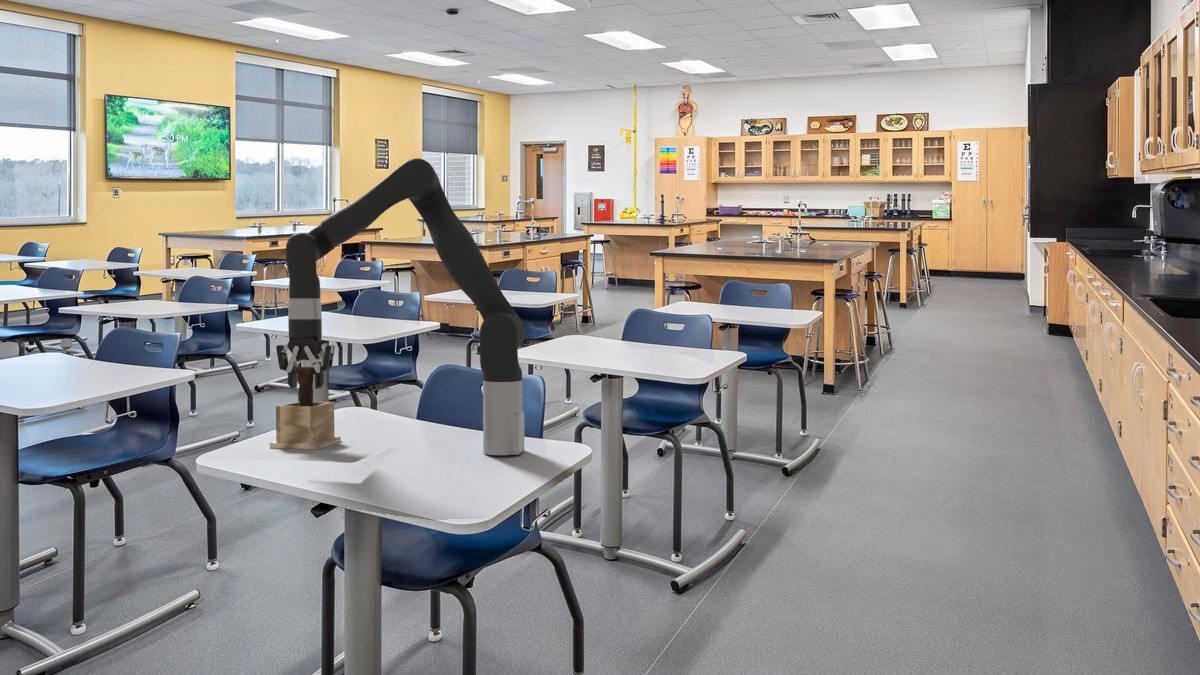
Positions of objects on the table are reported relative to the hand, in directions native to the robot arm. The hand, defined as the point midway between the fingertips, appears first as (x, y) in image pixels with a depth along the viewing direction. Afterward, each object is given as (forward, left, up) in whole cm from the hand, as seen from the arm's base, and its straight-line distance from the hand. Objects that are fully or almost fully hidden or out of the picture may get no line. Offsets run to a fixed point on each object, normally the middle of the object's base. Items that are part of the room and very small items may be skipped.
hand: (305, 388), depth 207 cm
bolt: (0, 0, -10) cm, 10 cm away
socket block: (0, 0, -14) cm, 14 cm away
